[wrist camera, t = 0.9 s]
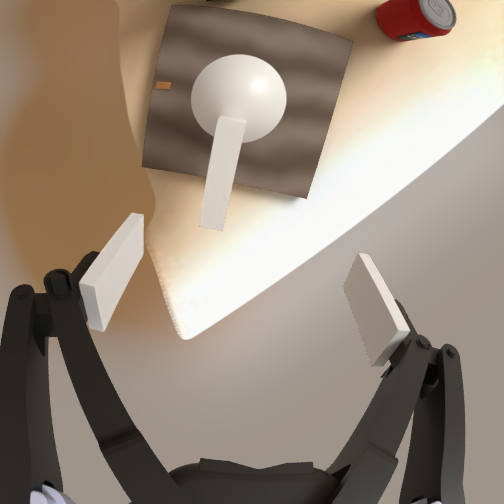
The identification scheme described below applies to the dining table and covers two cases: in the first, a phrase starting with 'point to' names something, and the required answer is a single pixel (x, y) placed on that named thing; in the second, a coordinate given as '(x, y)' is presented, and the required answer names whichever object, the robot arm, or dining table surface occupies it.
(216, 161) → the spoon
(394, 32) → the beverage can
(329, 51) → the base plate
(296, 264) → the dining table surface
